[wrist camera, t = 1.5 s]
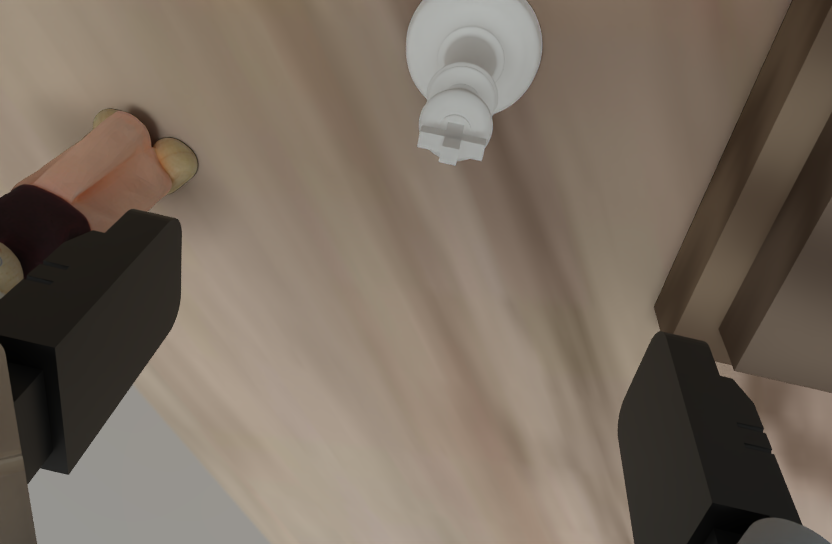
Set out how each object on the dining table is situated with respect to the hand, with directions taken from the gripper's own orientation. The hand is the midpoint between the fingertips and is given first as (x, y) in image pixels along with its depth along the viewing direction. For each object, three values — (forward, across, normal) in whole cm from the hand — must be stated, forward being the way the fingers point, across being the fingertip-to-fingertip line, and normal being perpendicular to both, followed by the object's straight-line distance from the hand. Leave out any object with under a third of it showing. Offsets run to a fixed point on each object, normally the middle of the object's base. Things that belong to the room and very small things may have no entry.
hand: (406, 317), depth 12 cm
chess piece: (+17, 0, 0) cm, 17 cm away
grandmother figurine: (+17, +13, +7) cm, 22 cm away
